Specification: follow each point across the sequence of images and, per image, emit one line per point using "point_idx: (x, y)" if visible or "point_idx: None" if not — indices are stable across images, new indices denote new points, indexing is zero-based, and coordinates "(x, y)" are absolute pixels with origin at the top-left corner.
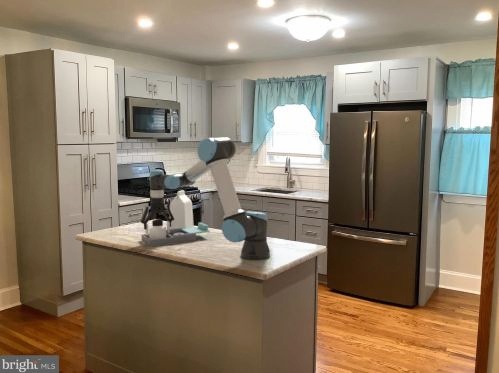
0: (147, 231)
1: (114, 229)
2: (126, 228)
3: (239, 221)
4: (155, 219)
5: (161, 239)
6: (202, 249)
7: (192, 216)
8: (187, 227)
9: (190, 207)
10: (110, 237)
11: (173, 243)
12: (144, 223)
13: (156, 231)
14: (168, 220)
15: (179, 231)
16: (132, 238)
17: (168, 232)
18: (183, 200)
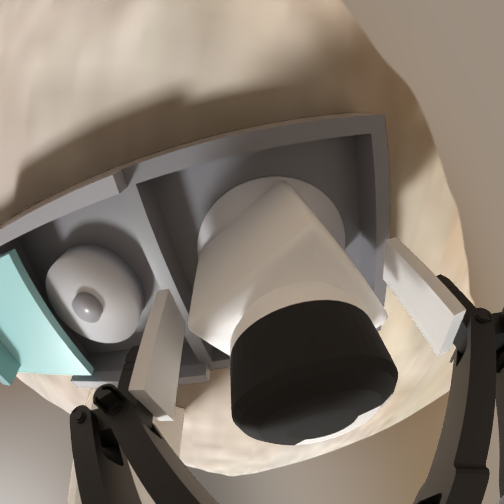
0: (413, 258)
1: (375, 428)
2: (339, 439)
3: None
4: (345, 428)
5: (264, 129)
6: (12, 4)
7: None
8: (89, 404)
9: (70, 491)
10: (439, 358)
11: (145, 156)
12: (484, 318)
13: (328, 235)
14: (148, 421)
15: (110, 366)
16: (385, 344)
17: (169, 293)
18: None
